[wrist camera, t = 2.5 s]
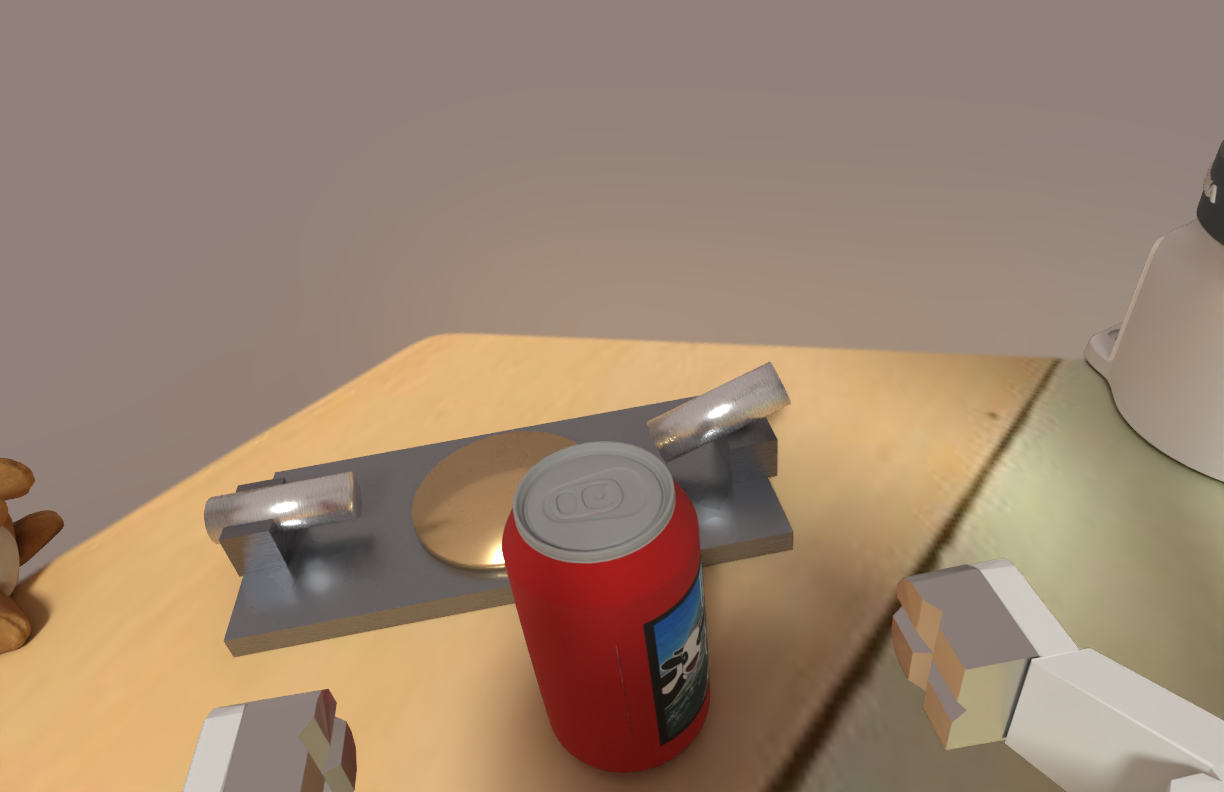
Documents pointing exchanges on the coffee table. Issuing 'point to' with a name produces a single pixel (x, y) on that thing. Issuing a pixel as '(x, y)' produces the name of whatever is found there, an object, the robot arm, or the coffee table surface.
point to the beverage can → (611, 603)
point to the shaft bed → (473, 515)
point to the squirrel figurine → (18, 549)
